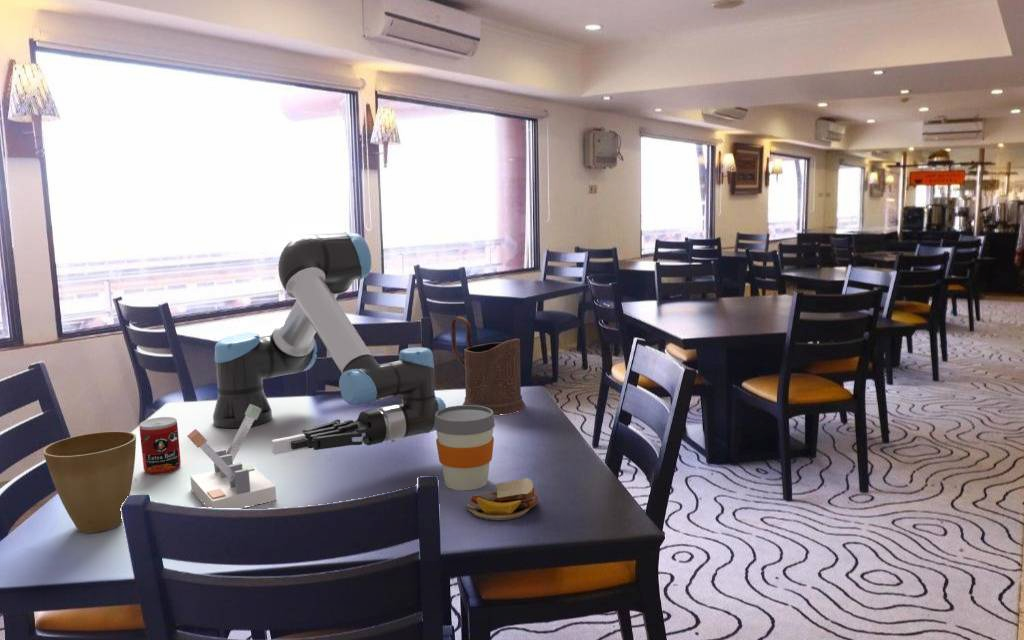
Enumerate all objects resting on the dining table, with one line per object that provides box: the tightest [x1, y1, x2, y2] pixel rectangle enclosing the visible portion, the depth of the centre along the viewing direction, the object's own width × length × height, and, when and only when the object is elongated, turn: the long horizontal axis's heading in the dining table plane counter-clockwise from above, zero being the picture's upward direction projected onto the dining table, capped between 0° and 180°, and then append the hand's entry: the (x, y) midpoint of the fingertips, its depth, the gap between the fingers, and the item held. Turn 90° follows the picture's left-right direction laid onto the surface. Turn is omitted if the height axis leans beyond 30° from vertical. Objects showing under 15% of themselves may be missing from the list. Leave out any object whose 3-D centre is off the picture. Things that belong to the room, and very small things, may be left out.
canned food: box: [139, 416, 182, 476], centre depth 169 cm, size 8×8×11 cm
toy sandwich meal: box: [466, 477, 539, 521], centre depth 144 cm, size 12×14×5 cm
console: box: [190, 448, 277, 509], centre depth 153 cm, size 17×12×7 cm
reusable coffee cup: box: [434, 404, 496, 491], centre depth 157 cm, size 13×13×15 cm
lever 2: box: [226, 404, 262, 462], centre depth 158 cm, size 2×2×15 cm
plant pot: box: [42, 430, 137, 534], centre depth 139 cm, size 15×15×16 cm
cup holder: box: [450, 316, 527, 416], centre depth 215 cm, size 18×24×25 cm
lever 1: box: [186, 428, 236, 485], centre depth 145 cm, size 2×2×15 cm
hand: (273, 447), depth 152 cm, fingers closed
